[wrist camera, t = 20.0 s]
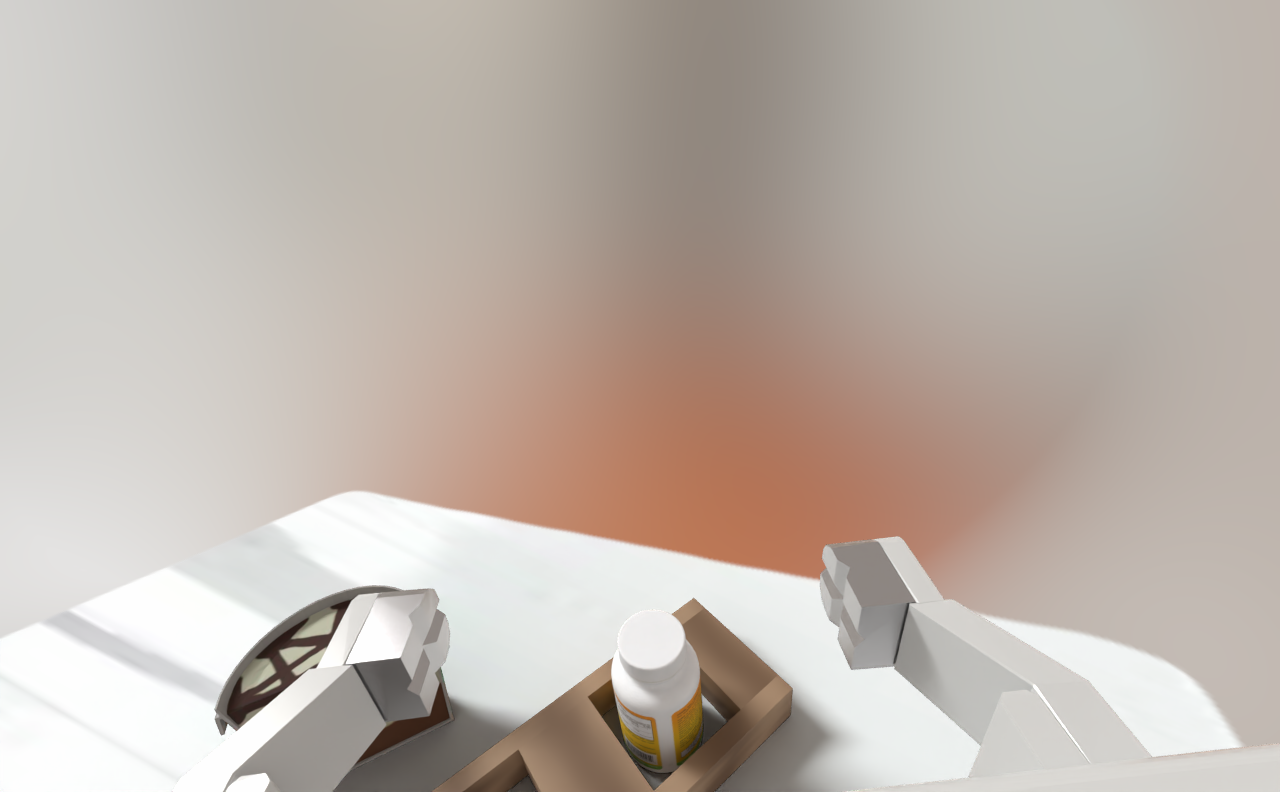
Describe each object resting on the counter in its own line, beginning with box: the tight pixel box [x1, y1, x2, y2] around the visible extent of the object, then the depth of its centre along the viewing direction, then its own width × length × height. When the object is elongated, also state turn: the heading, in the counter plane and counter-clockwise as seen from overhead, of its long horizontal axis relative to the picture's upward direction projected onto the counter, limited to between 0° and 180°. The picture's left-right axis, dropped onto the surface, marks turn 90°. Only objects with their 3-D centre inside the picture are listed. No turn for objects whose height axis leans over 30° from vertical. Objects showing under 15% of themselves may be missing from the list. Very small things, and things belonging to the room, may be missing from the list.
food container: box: [215, 585, 454, 771], centre depth 36 cm, size 12×6×10 cm, turn 116°
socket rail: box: [432, 598, 793, 792], centre depth 32 cm, size 26×9×3 cm, turn 127°
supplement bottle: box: [611, 609, 703, 773], centre depth 33 cm, size 5×5×10 cm
